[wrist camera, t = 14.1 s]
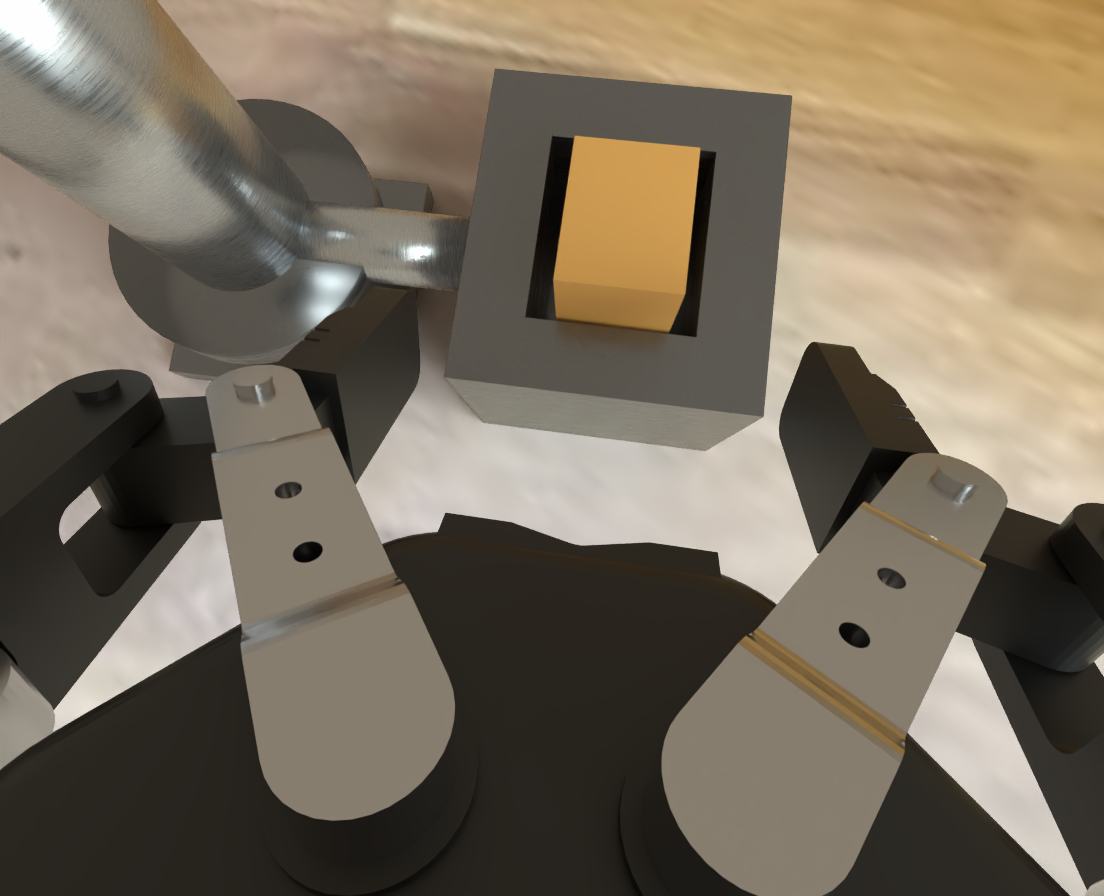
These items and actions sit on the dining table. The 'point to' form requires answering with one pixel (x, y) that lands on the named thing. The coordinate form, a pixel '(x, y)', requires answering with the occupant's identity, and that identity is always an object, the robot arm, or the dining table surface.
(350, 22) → the dining table surface
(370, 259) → the bracket post
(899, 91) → the dining table surface
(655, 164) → the orange block
